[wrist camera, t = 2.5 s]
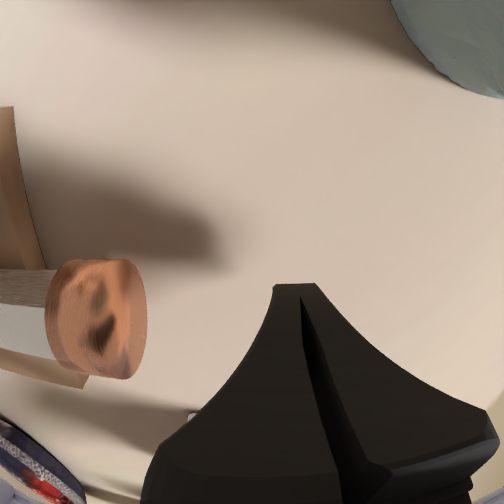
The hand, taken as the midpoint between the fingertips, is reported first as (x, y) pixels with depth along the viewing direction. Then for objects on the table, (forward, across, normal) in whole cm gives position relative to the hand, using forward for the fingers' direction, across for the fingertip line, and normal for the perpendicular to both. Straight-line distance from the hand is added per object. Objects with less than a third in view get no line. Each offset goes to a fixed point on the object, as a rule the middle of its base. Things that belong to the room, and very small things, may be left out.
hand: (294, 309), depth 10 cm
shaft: (+1, +14, 0) cm, 14 cm away
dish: (+4, +34, +34) cm, 48 cm away
